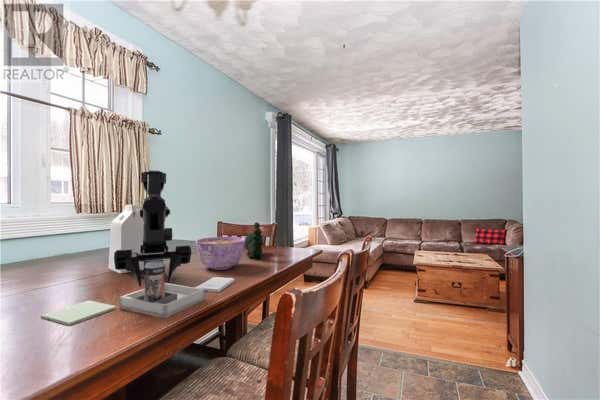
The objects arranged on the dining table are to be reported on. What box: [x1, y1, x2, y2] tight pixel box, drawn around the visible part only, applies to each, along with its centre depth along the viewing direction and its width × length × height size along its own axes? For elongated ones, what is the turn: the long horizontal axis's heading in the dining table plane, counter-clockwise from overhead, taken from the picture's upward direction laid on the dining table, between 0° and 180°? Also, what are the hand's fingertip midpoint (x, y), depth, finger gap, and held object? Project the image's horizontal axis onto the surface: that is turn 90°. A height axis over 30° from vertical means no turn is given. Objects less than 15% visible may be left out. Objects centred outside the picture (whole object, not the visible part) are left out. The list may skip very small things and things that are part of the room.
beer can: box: [143, 260, 166, 302], centre depth 77 cm, size 5×5×12 cm
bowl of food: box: [195, 236, 245, 271], centre depth 121 cm, size 20×20×12 cm
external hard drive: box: [194, 276, 236, 293], centre depth 96 cm, size 2×8×12 cm
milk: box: [107, 204, 144, 274], centre depth 119 cm, size 12×12×26 cm
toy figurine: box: [244, 221, 264, 260], centre depth 144 cm, size 9×19×25 cm
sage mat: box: [40, 300, 117, 326], centre depth 73 cm, size 11×11×1 cm
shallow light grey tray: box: [118, 282, 206, 319], centre depth 80 cm, size 16×14×3 cm
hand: (154, 284), depth 76 cm, fingers open, 6 cm apart
